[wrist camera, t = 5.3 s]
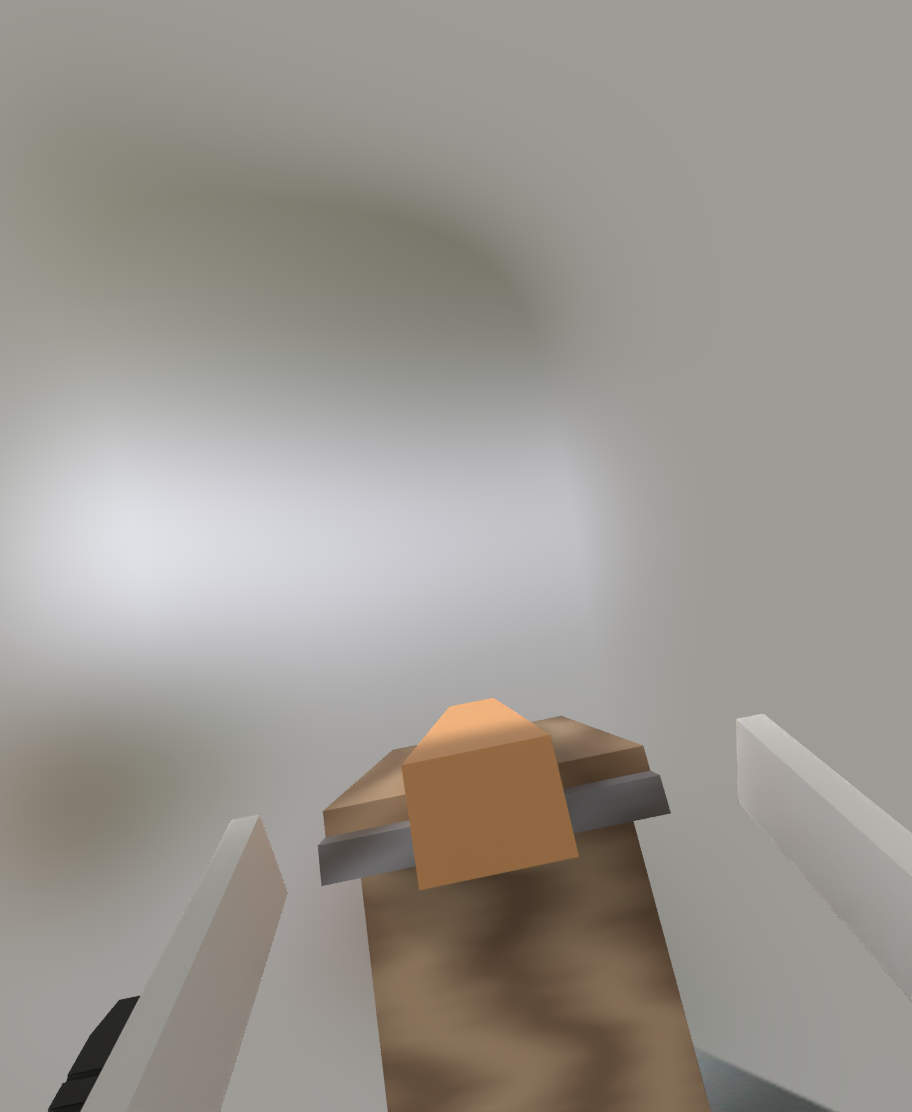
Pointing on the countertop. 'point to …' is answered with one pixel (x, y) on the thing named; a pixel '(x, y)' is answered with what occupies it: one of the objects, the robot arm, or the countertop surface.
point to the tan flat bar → (484, 796)
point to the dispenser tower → (523, 952)
